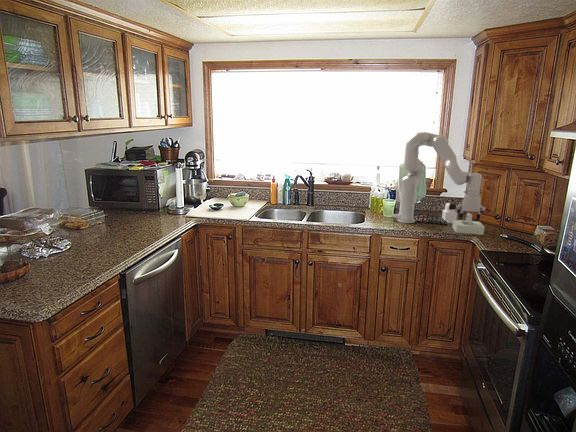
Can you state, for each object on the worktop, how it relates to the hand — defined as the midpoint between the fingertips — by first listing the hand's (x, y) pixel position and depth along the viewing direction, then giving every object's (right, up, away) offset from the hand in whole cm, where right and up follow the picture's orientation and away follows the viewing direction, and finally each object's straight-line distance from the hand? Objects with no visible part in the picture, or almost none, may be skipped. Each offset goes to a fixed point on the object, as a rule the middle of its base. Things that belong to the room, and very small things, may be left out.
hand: (469, 219), depth 251 cm
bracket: (0, -7, +2) cm, 7 cm away
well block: (0, -7, +2) cm, 7 cm away
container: (-4, -2, +22) cm, 23 cm away
